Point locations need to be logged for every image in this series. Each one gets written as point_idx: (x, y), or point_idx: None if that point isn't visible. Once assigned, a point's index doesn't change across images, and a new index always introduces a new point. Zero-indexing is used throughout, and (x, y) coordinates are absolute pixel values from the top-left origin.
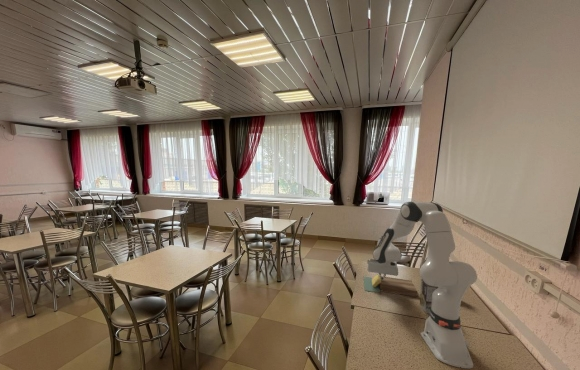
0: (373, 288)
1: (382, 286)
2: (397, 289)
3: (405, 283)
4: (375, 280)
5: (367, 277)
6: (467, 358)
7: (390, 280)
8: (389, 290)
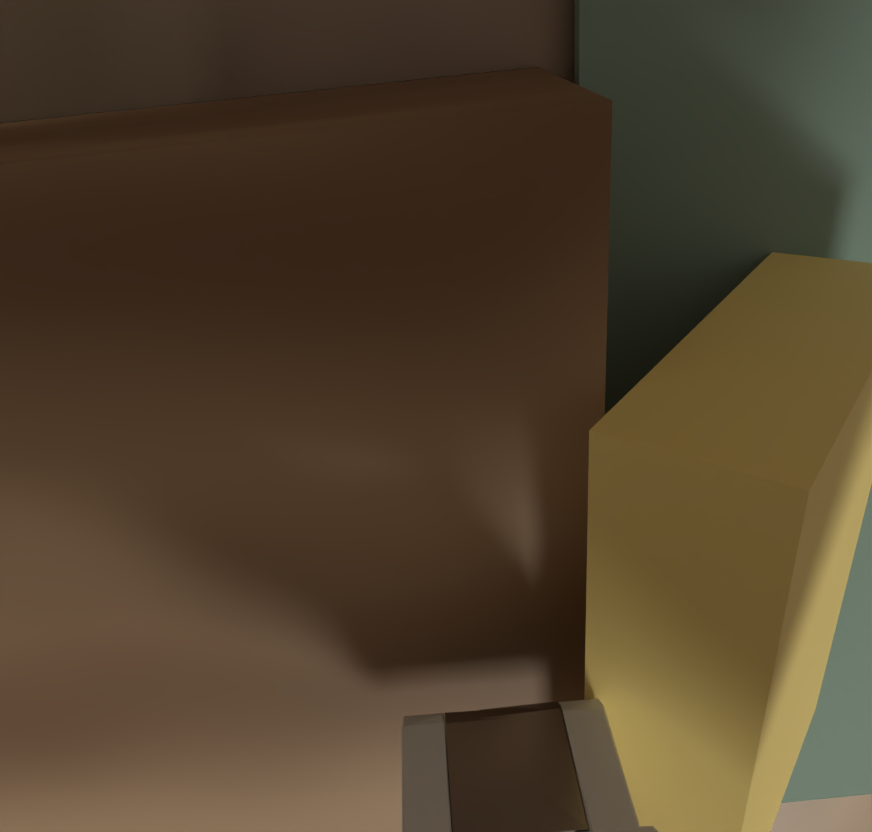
0: (859, 130)
1: (491, 106)
2: None
3: None
4: (832, 562)
5: (864, 777)
6: None
7: (111, 809)
8: (104, 123)
